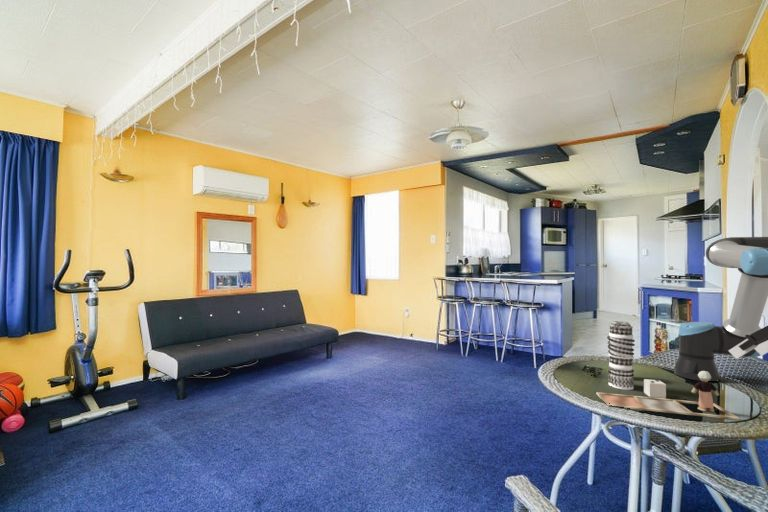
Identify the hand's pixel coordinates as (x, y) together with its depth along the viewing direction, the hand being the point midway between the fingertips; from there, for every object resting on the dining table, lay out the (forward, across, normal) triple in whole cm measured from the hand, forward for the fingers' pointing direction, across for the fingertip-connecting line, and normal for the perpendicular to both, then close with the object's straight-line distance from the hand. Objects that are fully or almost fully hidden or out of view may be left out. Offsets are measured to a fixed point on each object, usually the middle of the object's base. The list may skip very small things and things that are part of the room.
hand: (745, 353), depth 111 cm
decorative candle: (+41, -2, +12) cm, 43 cm away
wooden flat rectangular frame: (+28, -9, -2) cm, 29 cm away
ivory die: (+33, 0, +4) cm, 33 cm away
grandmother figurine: (+23, +1, -7) cm, 24 cm away
